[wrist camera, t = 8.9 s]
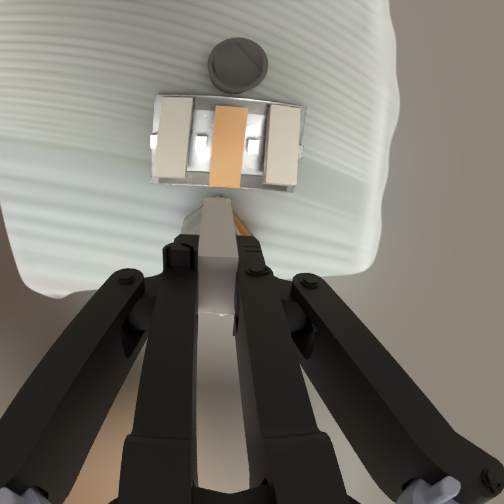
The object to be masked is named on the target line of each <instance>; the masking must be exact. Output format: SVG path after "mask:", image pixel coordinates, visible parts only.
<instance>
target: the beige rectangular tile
mask: <svg viewBox="0 0 504 504" xmlns="http://www.w3.org/2000/svg"><path fill="white" fill-rule="evenodd" d="M299 130H300V108H294V107H288V106H281V105H273V104H271V105H270V106H269V108H268V110H267V125H266V140H265V156H264V171H263V184H272V185H283V186H295V185H297V168H298V150H299Z"/></svg>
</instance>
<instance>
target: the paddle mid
mask: <svg viewBox="0 0 504 504" xmlns="http://www.w3.org/2000/svg"><path fill="white" fill-rule="evenodd" d="M247 115H248V108H243V107H231V106H218V105H216V108H215V119H214V129H213V140H212V152H211V165H210V178H209V186H211V187H228V188H240V179H241V170H242V160H243V151H244V142H245V133H246V124H247Z"/></svg>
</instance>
